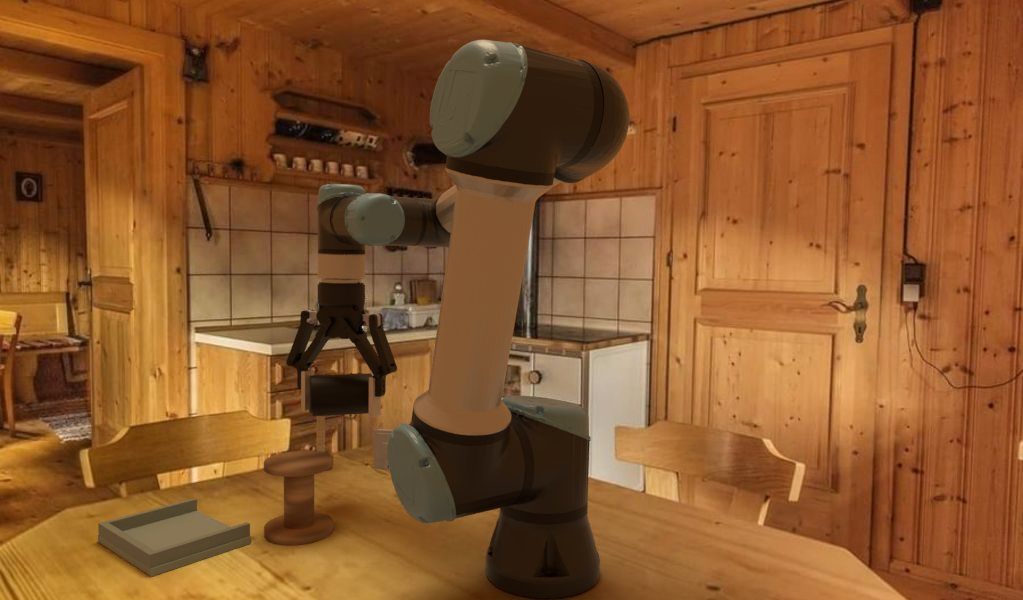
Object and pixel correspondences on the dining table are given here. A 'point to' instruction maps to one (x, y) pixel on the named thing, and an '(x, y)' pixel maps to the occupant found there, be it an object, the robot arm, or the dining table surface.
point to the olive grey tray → (170, 537)
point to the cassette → (381, 448)
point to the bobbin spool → (298, 498)
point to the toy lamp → (320, 433)
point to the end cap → (339, 394)
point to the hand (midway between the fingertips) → (340, 412)
